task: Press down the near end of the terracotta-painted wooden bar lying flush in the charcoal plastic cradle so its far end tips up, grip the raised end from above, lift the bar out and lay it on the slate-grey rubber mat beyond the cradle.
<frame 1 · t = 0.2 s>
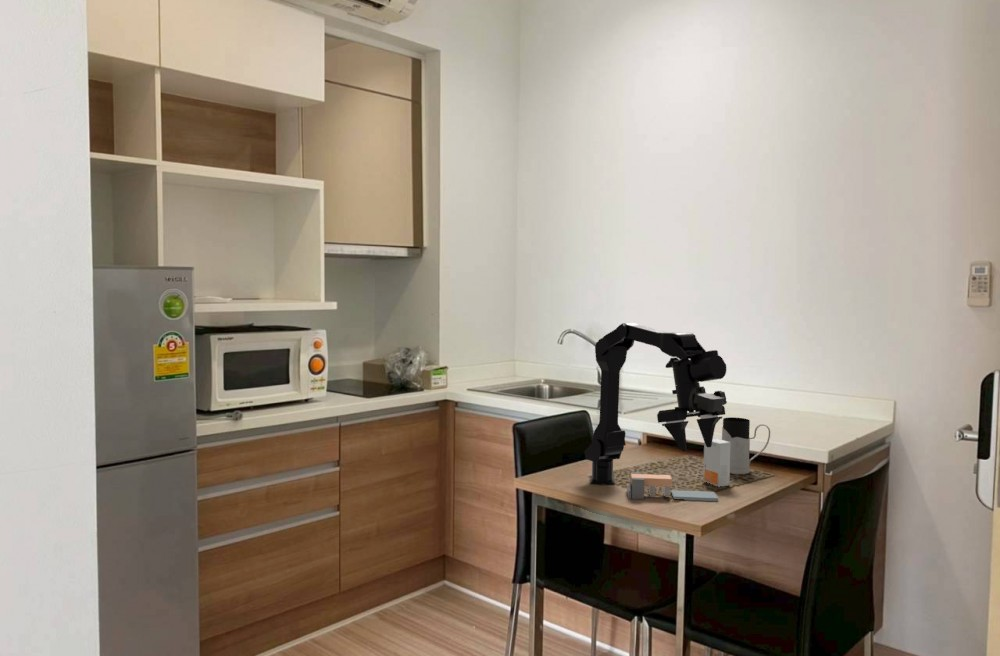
hand: (696, 449, 186), 15 cm above the table, tool pointing down, fingers open, 9 cm apart
skincare box: (716, 484, 213), on the table
grey mug: (744, 471, 229), on the table
mat: (694, 497, 200), on the table
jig: (650, 495, 201), on the table
bar: (650, 484, 200), point 3 cm above the table, touching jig
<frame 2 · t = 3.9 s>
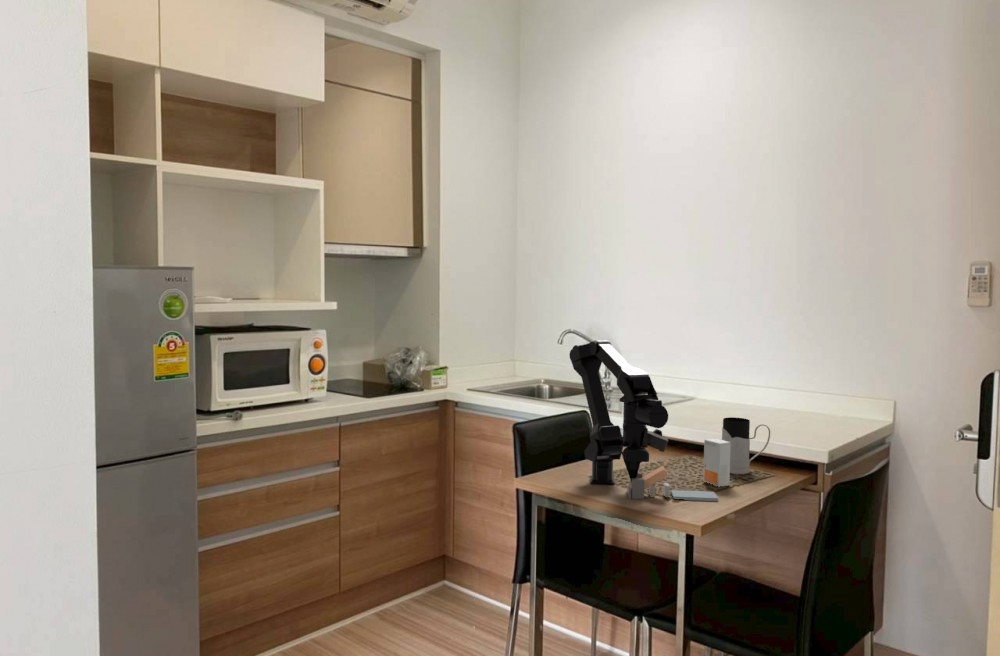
hand: (633, 481, 201), 4 cm above the table, tool pointing down, fingers closed
bar: (650, 483, 200), point 3 cm above the table, tilted 32°, touching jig
everything else where it was.
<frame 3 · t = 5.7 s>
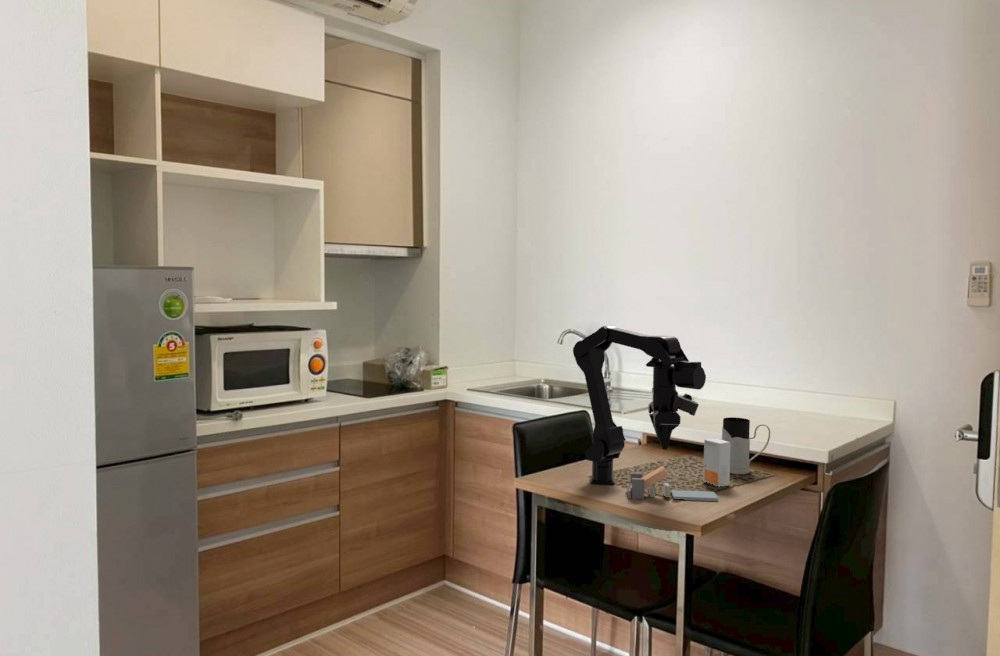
hand: (662, 446, 200), 13 cm above the table, tool pointing down, fingers open, 8 cm apart
nothing on the table moved.
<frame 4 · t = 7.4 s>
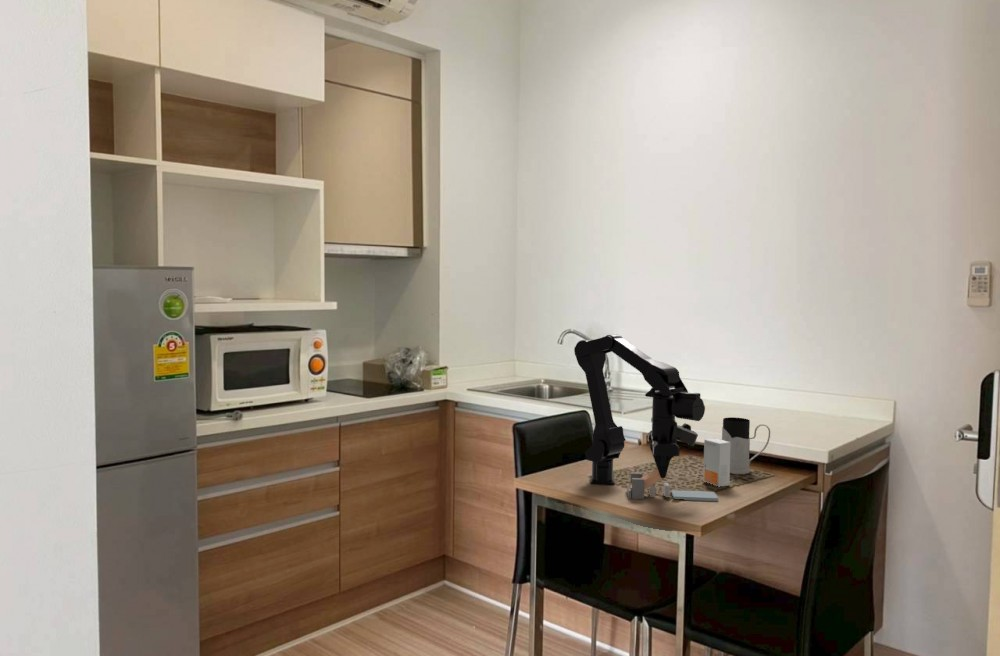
hand: (662, 475, 200), 5 cm above the table, tool pointing down, fingers closed on bar, 4 cm apart
bar: (650, 483, 200), point 3 cm above the table, tilted 32°, touching gripper, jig
everything else where it was.
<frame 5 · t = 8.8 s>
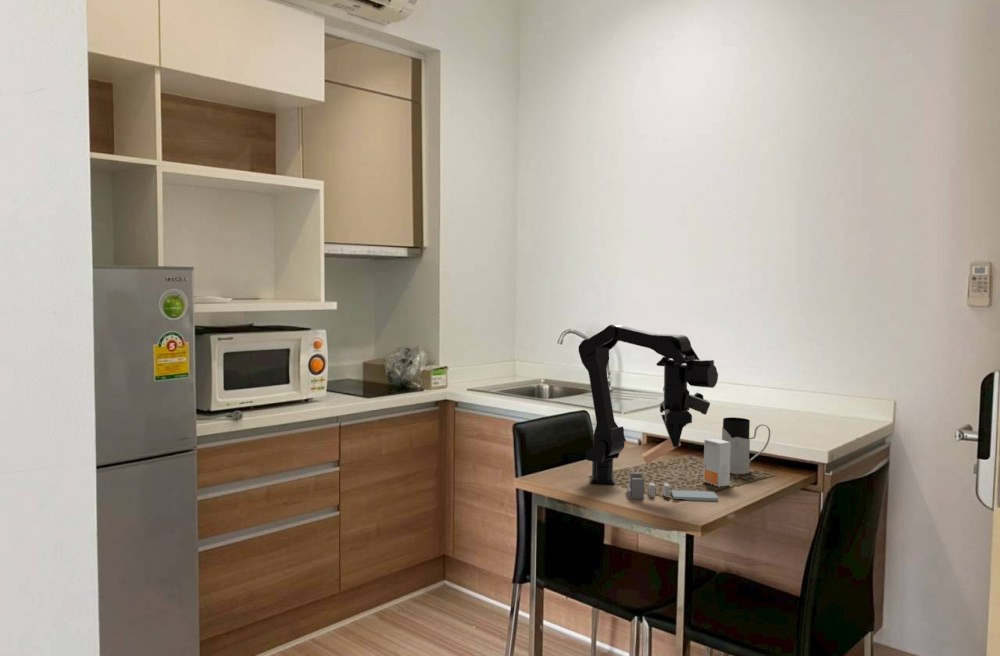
hand: (674, 445, 199), 13 cm above the table, tool pointing down, fingers closed on bar, 4 cm apart
bar: (663, 452, 199), point 11 cm above the table, tilted 32°, touching gripper
everything else where it was.
when the fingers open (8 cm above the table, at t = 10.4 s): bar drops 5 cm, resting on mat.
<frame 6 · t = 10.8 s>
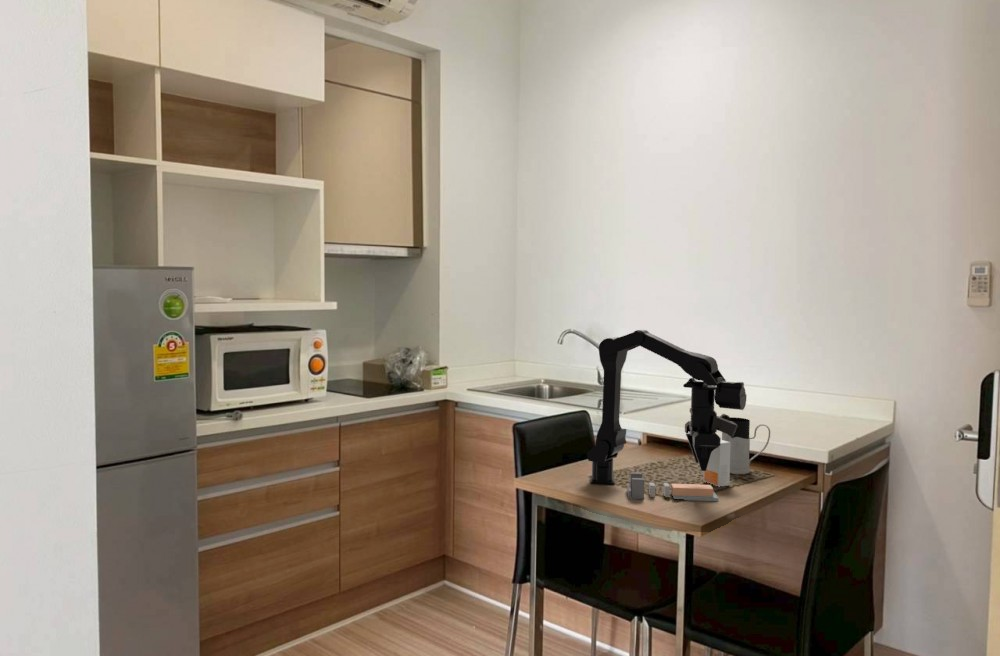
hand: (700, 466, 199), 8 cm above the table, tool pointing down, fingers open, 8 cm apart
bar: (691, 493, 200), point 1 cm above the table, touching mat
everything else where it was.
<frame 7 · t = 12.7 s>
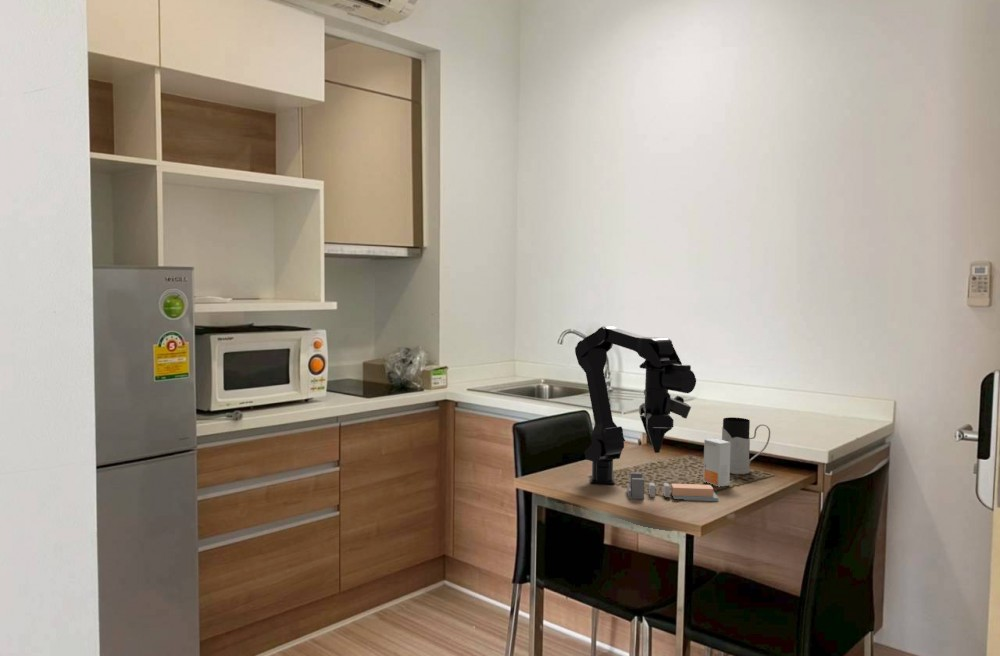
hand: (654, 448, 198), 13 cm above the table, tool pointing down, fingers open, 9 cm apart
nothing on the table moved.
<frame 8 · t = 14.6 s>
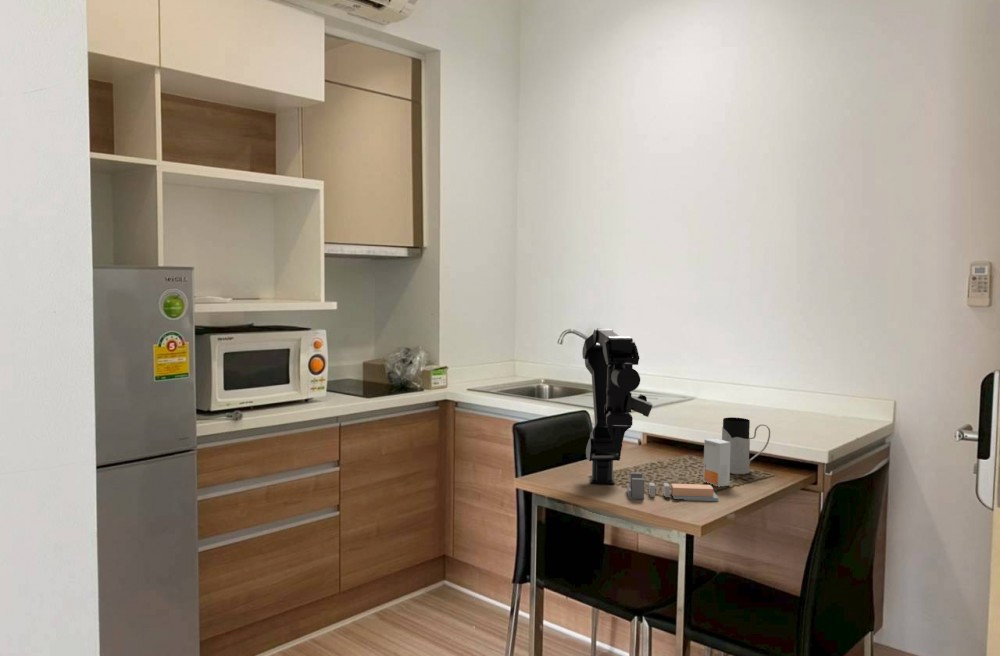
hand: (617, 447, 197), 13 cm above the table, tool pointing down, fingers open, 9 cm apart
nothing on the table moved.
at the end: bar inside the target area on the mat (1.1 cm from its centre), point 0.8 cm above the mat's base; the gripper is holding nothing; bar touching mat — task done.
